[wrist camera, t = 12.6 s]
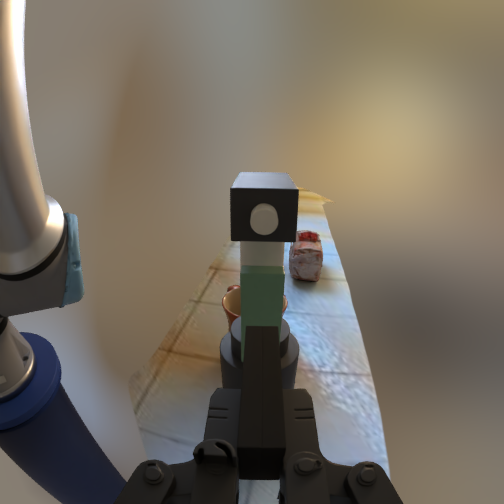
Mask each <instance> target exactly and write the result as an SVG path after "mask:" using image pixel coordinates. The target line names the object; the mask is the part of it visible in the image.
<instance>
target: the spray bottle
mask: <svg viewBox="0 0 504 504" xmlns="http://www.w3.org/2000/svg"><path fill="white" fill-rule="evenodd" d="M298 196H299V190H298V188H297V187H296V185H295V184H294V182H293V181H292V179H291V178H290V177H289V175H288V174H287V173H266V172H240V173H239V174H238V176H237V178H236V180H235V181H234V183H233V185H232V187H231V188H230V205H231V206H230V212H231V241H240V253H241V266H242V265H251V266H283V262H284V243H285V242H296V233H297V215H298ZM298 356H299V344H298V342H297V340H296V338H295V337H294V336H293V335H292V334H291V333H290V328H289V325H288V323H287V322H286V321H285V320H284V319H283V318H282V324H281V337H280V357H281V371H282V386H283V389H294V383H295V376H296V370H297V363H298ZM220 358H221V371H222V383H223V388H225V389H241V384H242V371H243V362H242V361H241V316H240V317H238V318H237V319H235V320H234V321H233V323H232V325H231V331H230V332H228V333H227V334H226V335H225V336H224V337H223V339H222V341H221V344H220Z"/></svg>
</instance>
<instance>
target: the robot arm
mask: <svg viewBox="0 0 504 504" xmlns="http://www.w3.org/2000/svg"><path fill="white" fill-rule="evenodd" d="M25 6H26V0H0V404H2V403H5V402H7V401H10V400H12V399H13V398H15V397H16V396H18V395H19V394H20V393H22V392H23V391H24V390H25V389H26V388H27V386H28V385H29V384H30V382H31V381H32V379H33V377H34V375H35V372H36V368H37V360H36V356H35V354H34V352H33V350H32V348H31V346H30V344H29V343H28V342H27V341H26V340H25V339H24V337H23V336H22V335H21V334H20V333H19V332H18V330H17V329H16V328H15V327H14V326H13V324H12V323H11V322H10V321H9V319H8V316H13V315H18V314H24V313H29V312H33V311H39V310H44V309H49V308H54V307H59V308H62V307H64V306H65V305H67V304H72V303H75V302H78V301H80V300H81V298H82V297H83V295H84V284H83V276H82V268H81V258H80V248H79V235H78V219H77V216H76V215H74V214H69V213H64V214H63V212H62V209H61V207H60V205H59V204H58V202H57V201H56V200H55V199H53V198H52V197H50V196H48V195H46V194H45V193H44V190H43V186H42V182H41V178H40V173H39V169H38V164H37V160H36V155H35V150H34V144H33V139H32V133H31V127H30V120H29V112H28V103H27V95H26V82H25V65H24V26H25V8H26V7H25ZM193 456H194V459H193V460H191V461H189V462H185V463H179V464H171V465H168V464H166V463H164V462H163V461H159V460H147V461H145V462H142V463H141V464H140V465H139V466H138V467H137V468H136V469H135V471H134V472H133V474H132V476H131V477H130V479H129V480H128V482H127V483H126V485H125V486H124V488H123V490H122V491H121V493H120V494H119V496H118V497H117V499H116V501H115V502H114V504H238V501H239V479H242V480H279V479H280V490H279V493H278V498H277V499H279V504H403V502H402V501H401V499H400V497H399V496H398V494H397V492H396V490H395V489H394V487H393V485H392V483H391V482H390V480H389V478H388V476H387V475H386V473H385V471H384V470H383V469H382V467H381V466H380V465H378V464H376V463H374V462H367V461H366V462H361V463H358V464H356V465H355V466H353V467H352V466H346V465H340V464H335V463H332V462H330V461H328V460H327V459H326V458H325V457H324V456H323V455H322V454H321V452H320V448H319V442H318V435H317V428H316V422H315V415H314V410H313V402H312V397H311V396H310V395H309V393H308V392H307V390H306V389H283V386H282V371H281V357H280V344H279V331H278V326H246V331H245V344H244V358H243V371H242V384H241V389H225V388H217V389H216V391H215V392H214V393H213V395H212V396H211V398H210V404H209V410H208V417H207V422H206V428H205V434H204V440H203V442H201V443H199V444H198V445H197V446H196V447H195V449H194V452H193Z"/></svg>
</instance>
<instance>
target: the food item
mask: <svg viewBox="0 0 504 504" xmlns="http://www.w3.org/2000/svg"><path fill="white" fill-rule="evenodd" d="M322 261H323V251H322V246H321V240H320V238H319V234H317V233H316V232H312V231H308V230H304V231H297V233H296V242H293V245H292V242H291V246H290V251H289V269H290V274H291V276H293V278H296V279H300V280H307V281H318V280H319V277H320V274H321V268H322Z"/></svg>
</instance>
